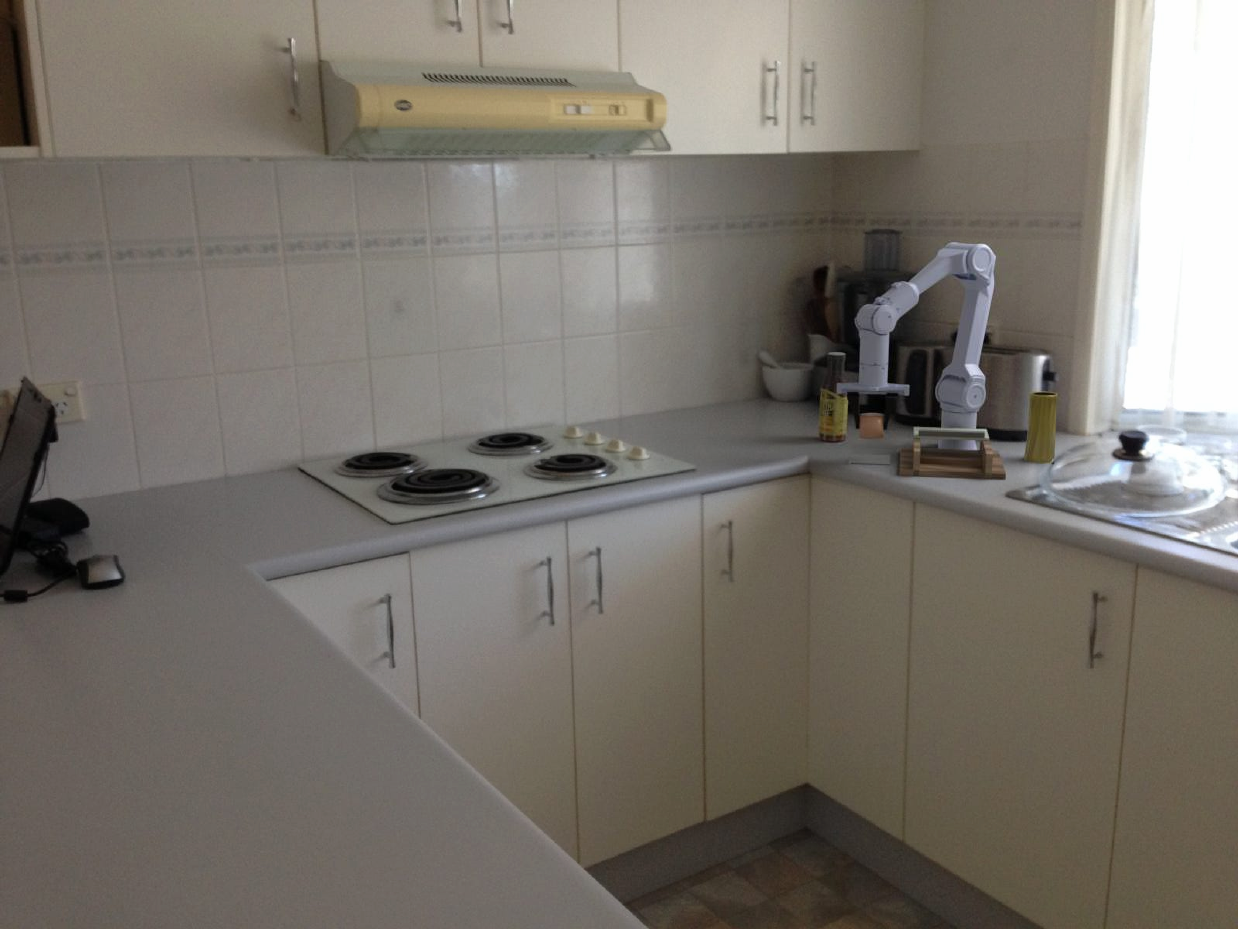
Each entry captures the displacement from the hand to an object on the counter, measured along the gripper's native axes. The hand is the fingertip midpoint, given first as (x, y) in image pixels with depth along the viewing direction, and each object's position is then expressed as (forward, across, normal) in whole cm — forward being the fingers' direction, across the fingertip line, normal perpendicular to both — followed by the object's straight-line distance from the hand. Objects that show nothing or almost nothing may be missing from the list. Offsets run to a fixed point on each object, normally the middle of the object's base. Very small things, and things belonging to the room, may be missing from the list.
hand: (871, 428), depth 239 cm
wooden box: (+7, +16, -2) cm, 18 cm away
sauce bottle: (+7, -9, +20) cm, 23 cm away
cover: (+2, +16, +4) cm, 17 cm away
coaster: (+7, 0, 0) cm, 7 cm away
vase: (+7, +34, +6) cm, 35 cm away
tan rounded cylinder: (+2, 0, 0) cm, 2 cm away
